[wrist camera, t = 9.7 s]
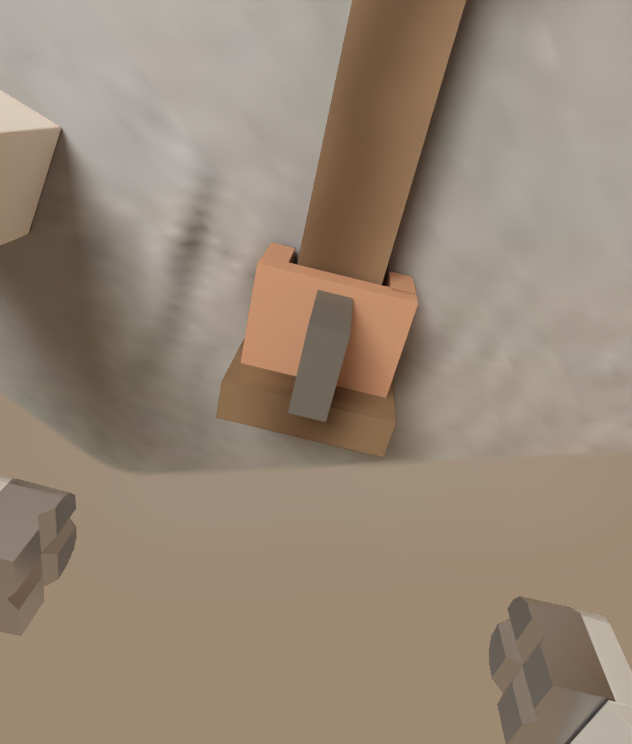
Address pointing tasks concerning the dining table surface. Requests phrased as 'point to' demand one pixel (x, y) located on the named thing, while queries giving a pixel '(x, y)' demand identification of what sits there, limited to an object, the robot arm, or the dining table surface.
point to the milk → (22, 164)
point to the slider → (326, 329)
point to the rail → (359, 199)
